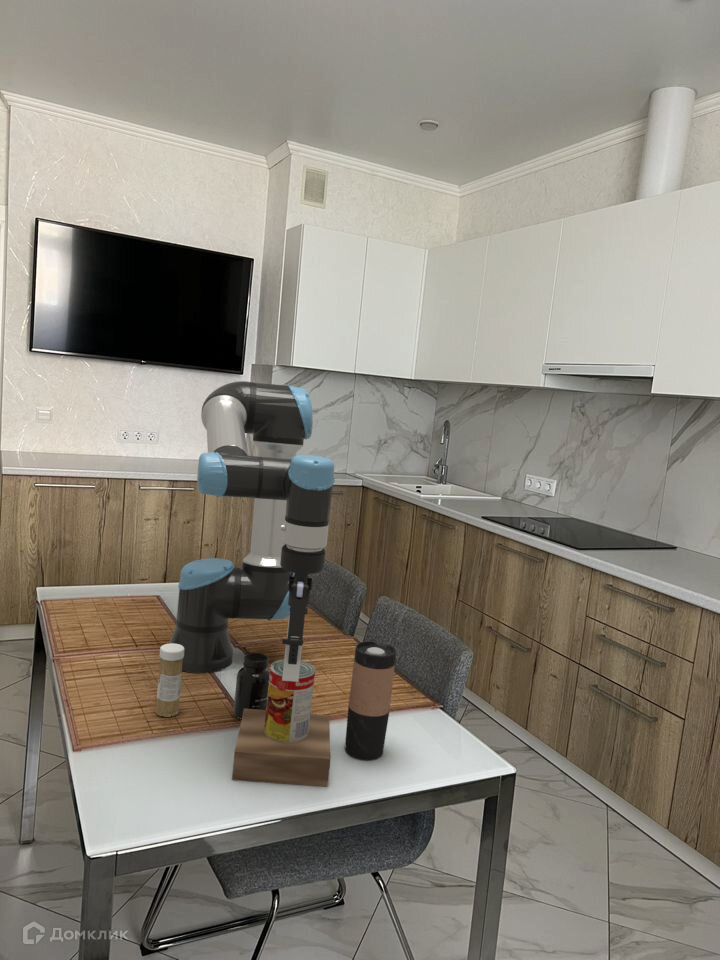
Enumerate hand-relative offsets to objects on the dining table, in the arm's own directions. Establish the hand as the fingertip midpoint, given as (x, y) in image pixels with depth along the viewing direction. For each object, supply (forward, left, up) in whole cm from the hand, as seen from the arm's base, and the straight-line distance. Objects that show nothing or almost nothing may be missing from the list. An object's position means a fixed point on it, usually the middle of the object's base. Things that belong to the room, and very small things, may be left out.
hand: (291, 664), depth 130 cm
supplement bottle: (-16, -7, -18) cm, 25 cm away
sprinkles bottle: (-14, -23, -18) cm, 32 cm away
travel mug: (-5, +15, -18) cm, 24 cm away
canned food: (0, 0, -13) cm, 13 cm away
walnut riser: (0, 0, -18) cm, 18 cm away
